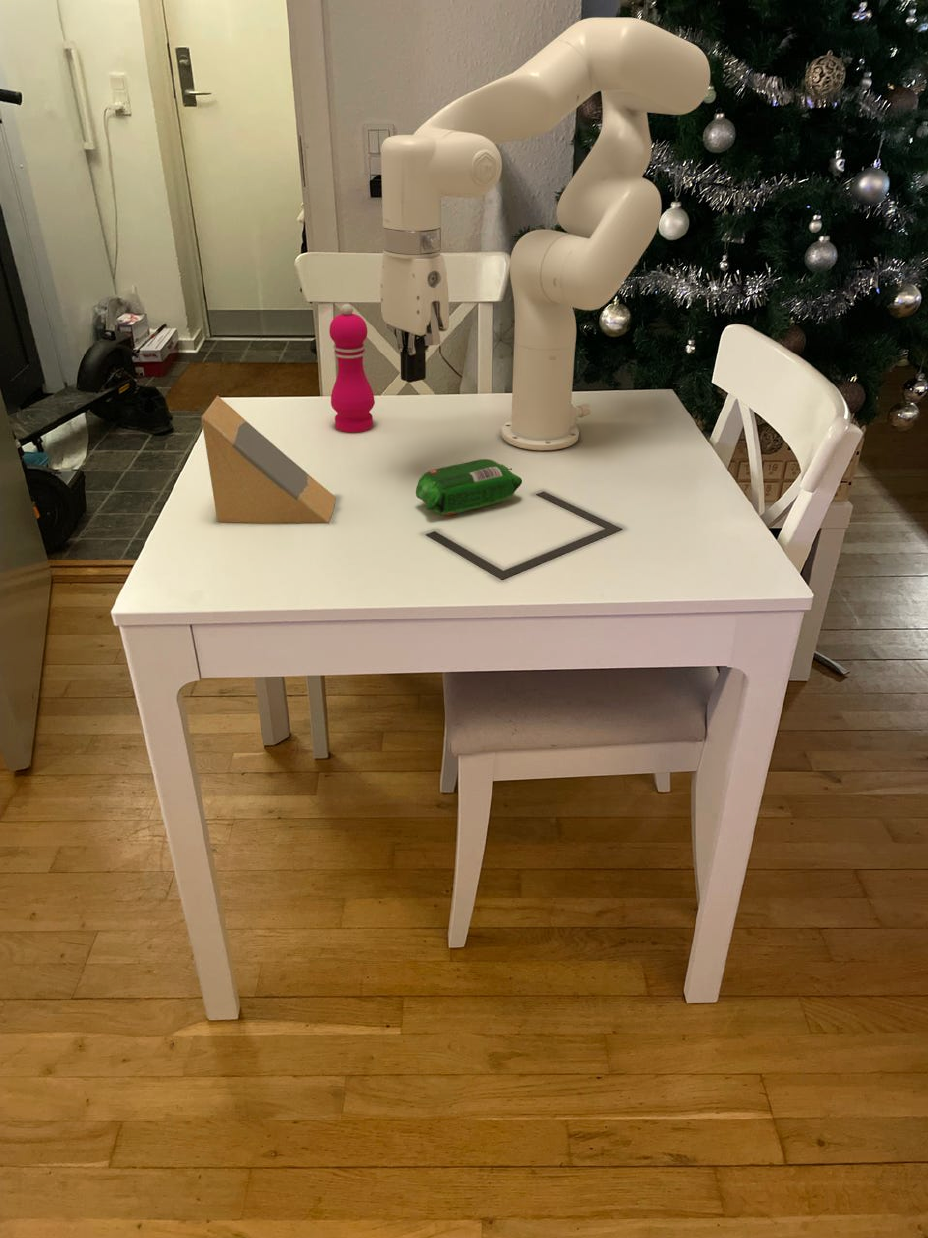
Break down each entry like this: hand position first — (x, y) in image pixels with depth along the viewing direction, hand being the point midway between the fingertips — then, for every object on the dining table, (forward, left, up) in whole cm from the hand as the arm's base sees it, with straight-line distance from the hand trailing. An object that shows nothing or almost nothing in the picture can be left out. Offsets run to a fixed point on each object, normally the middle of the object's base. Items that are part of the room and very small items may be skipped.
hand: (413, 379), depth 133 cm
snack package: (0, +12, -15) cm, 19 cm away
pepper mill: (-4, -23, -15) cm, 28 cm away
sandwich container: (+22, -3, -15) cm, 26 cm away
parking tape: (0, +24, -15) cm, 28 cm away
